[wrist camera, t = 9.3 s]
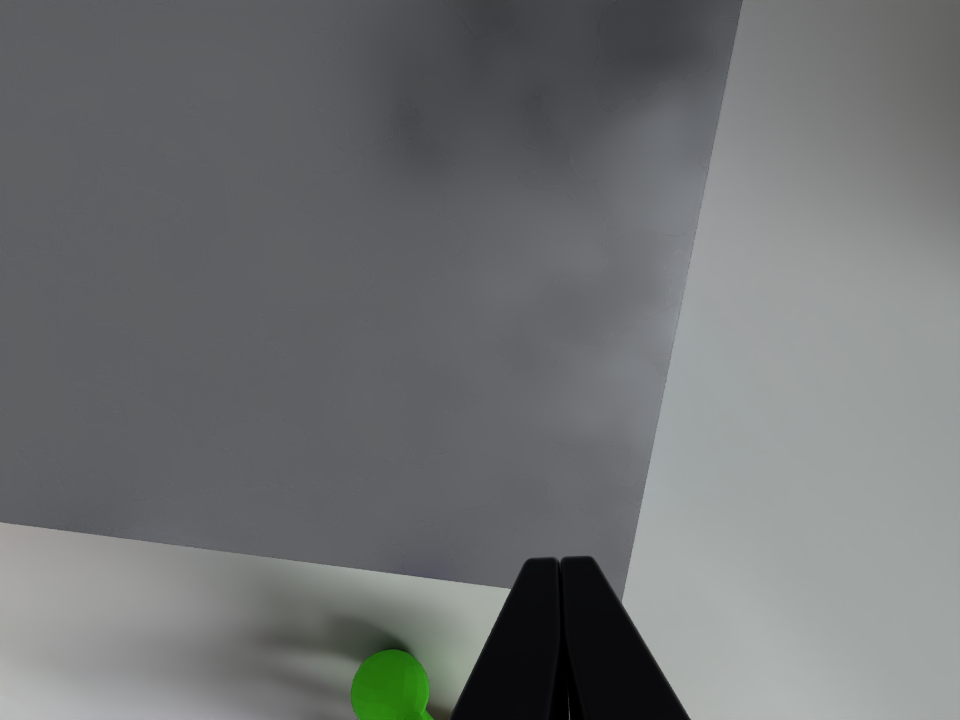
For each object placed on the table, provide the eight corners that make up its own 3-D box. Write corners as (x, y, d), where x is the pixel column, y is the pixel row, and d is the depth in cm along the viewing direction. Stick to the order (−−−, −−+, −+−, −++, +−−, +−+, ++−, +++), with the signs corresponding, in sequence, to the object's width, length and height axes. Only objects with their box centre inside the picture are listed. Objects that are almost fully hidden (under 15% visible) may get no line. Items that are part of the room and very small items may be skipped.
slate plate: (769, -305, 14) (811, -343, 11) (619, 515, 25) (621, 603, 22) (-253, -330, 16) (-444, -368, 13) (27, 443, 27) (-43, 516, 24)
